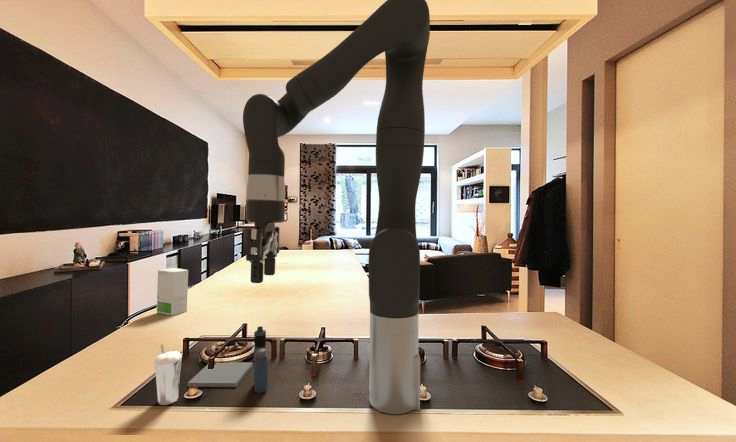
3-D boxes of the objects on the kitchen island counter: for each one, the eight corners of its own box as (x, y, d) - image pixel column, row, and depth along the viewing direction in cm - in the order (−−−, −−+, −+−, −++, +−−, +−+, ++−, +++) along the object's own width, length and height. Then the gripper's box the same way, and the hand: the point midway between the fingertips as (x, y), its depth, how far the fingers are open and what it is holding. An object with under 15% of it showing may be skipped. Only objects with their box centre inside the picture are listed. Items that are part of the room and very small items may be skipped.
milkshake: (174, 390, 69) (174, 341, 69) (186, 399, 66) (185, 347, 66) (148, 400, 66) (148, 347, 66) (159, 410, 62) (159, 355, 62)
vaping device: (265, 380, 74) (266, 324, 74) (268, 392, 69) (268, 332, 69) (253, 382, 73) (253, 326, 73) (254, 394, 68) (254, 334, 68)
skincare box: (156, 313, 124) (156, 269, 123) (172, 308, 130) (172, 267, 130) (172, 316, 120) (172, 271, 120) (188, 311, 126) (188, 268, 126)
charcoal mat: (252, 365, 81) (252, 362, 81) (236, 387, 71) (236, 383, 71) (210, 365, 81) (210, 362, 81) (187, 386, 71) (187, 382, 71)
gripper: (275, 197, 63) (272, 286, 63) (292, 200, 77) (289, 273, 77) (233, 196, 63) (231, 285, 63) (258, 199, 77) (256, 272, 77)
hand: (263, 278), depth 70 cm, fingers open, 8 cm apart
